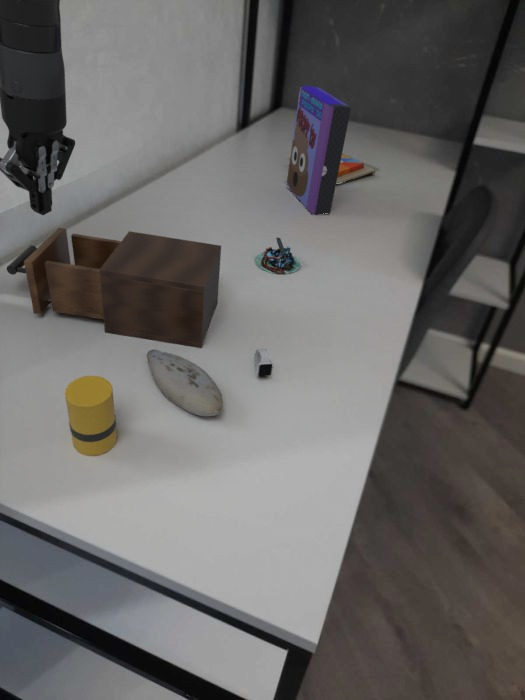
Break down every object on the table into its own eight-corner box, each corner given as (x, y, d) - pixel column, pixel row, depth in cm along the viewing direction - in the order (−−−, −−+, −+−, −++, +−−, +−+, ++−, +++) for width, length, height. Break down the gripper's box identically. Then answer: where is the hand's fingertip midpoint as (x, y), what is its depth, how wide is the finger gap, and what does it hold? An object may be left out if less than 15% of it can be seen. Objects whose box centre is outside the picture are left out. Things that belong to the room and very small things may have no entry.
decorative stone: (166, 353, 76) (166, 334, 74) (238, 411, 68) (240, 392, 66) (130, 369, 73) (129, 350, 70) (202, 433, 65) (203, 413, 63)
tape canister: (65, 452, 60) (56, 402, 55) (82, 421, 64) (75, 371, 59) (108, 459, 60) (103, 410, 55) (123, 428, 64) (119, 379, 59)
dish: (310, 258, 99) (281, 233, 97) (288, 288, 99) (258, 263, 97) (296, 258, 107) (268, 234, 104) (275, 285, 107) (247, 262, 104)
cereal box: (286, 186, 135) (300, 85, 120) (303, 186, 137) (319, 86, 122) (311, 214, 122) (330, 105, 108) (329, 214, 124) (351, 106, 109)
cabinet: (105, 332, 78) (99, 269, 72) (132, 289, 89) (129, 231, 82) (201, 348, 78) (204, 286, 71) (217, 303, 88) (221, 245, 82)
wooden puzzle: (287, 165, 148) (289, 153, 146) (331, 157, 159) (333, 145, 157) (333, 186, 139) (335, 173, 137) (376, 175, 150) (379, 163, 148)
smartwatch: (251, 365, 76) (254, 343, 74) (265, 364, 77) (268, 342, 74) (256, 381, 73) (259, 360, 71) (271, 380, 74) (275, 359, 72)
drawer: (5, 308, 79) (-7, 256, 73) (40, 272, 88) (32, 223, 83) (121, 327, 78) (117, 276, 73) (144, 288, 87) (142, 240, 82)
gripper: (44, 64, 68) (51, 186, 80) (-37, 84, 59) (-16, 219, 70) (92, 84, 67) (92, 204, 79) (18, 107, 57) (30, 240, 69)
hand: (41, 211), depth 74 cm, fingers closed
